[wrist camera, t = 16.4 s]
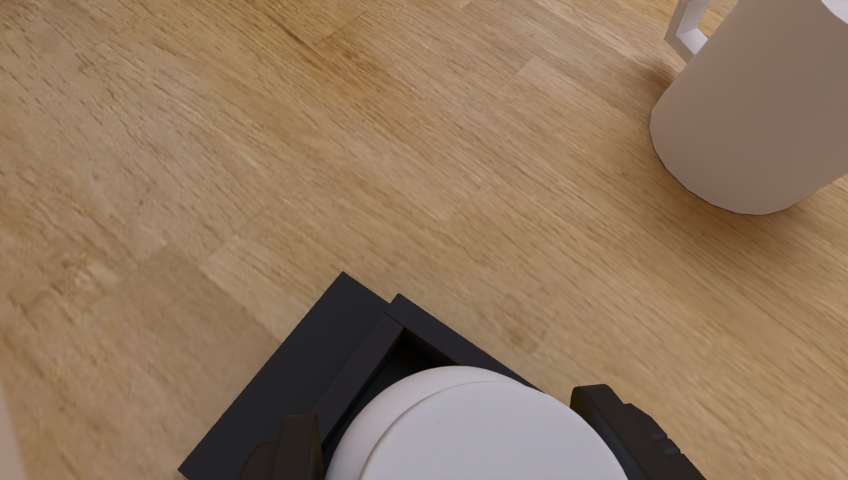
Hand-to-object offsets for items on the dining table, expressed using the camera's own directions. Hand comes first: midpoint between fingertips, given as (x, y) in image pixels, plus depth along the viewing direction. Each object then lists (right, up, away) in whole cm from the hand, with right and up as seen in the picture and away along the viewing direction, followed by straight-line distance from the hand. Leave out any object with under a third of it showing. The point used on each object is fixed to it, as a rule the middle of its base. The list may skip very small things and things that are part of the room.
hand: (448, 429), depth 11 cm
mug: (+18, +12, +18) cm, 28 cm away
